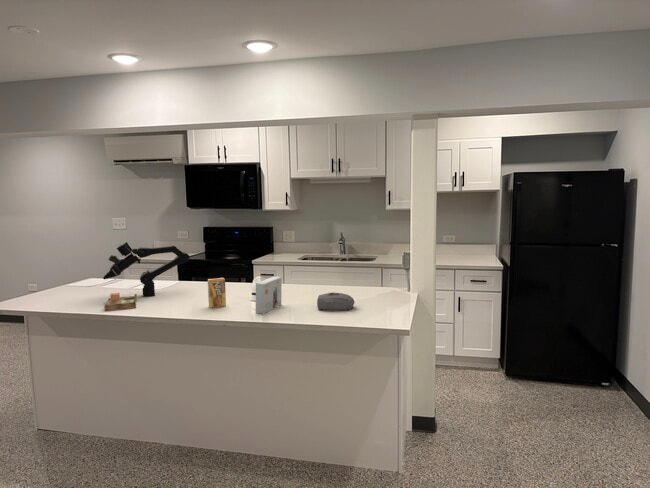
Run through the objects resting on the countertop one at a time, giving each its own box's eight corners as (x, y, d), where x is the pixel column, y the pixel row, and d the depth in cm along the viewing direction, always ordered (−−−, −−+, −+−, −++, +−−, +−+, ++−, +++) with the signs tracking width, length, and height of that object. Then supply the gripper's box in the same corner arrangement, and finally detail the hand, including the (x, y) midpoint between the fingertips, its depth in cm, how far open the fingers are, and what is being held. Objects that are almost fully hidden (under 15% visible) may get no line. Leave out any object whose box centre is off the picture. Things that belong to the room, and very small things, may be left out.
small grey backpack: (315, 311, 234) (354, 312, 232) (315, 296, 233) (354, 296, 231) (319, 304, 249) (355, 304, 247) (318, 289, 248) (355, 289, 246)
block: (119, 298, 263) (119, 292, 262) (119, 299, 258) (119, 294, 258) (111, 298, 261) (110, 293, 261) (110, 300, 257) (110, 295, 256)
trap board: (136, 299, 268) (136, 293, 268) (135, 308, 247) (135, 302, 246) (109, 301, 263) (108, 296, 262) (105, 311, 241) (105, 305, 241)
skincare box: (264, 314, 230) (263, 283, 228) (255, 313, 232) (254, 283, 230) (282, 304, 250) (281, 276, 248) (273, 303, 252) (273, 275, 250)
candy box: (224, 304, 252) (223, 277, 250) (226, 306, 248) (225, 278, 246) (208, 306, 248) (207, 279, 246) (210, 308, 244) (208, 280, 242)
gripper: (119, 250, 276) (96, 265, 272) (118, 251, 259) (93, 268, 255) (130, 264, 279) (108, 280, 275) (130, 267, 262) (106, 283, 257)
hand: (104, 277), depth 265 cm, fingers open, 9 cm apart
